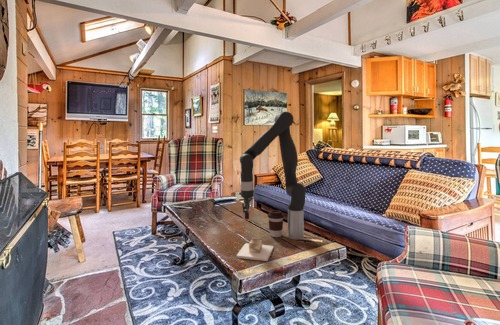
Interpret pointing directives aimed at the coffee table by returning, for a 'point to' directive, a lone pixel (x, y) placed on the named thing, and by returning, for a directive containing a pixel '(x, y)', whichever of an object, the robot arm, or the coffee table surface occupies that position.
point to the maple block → (255, 246)
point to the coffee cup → (275, 223)
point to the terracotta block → (249, 215)
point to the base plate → (261, 256)
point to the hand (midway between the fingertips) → (248, 217)
